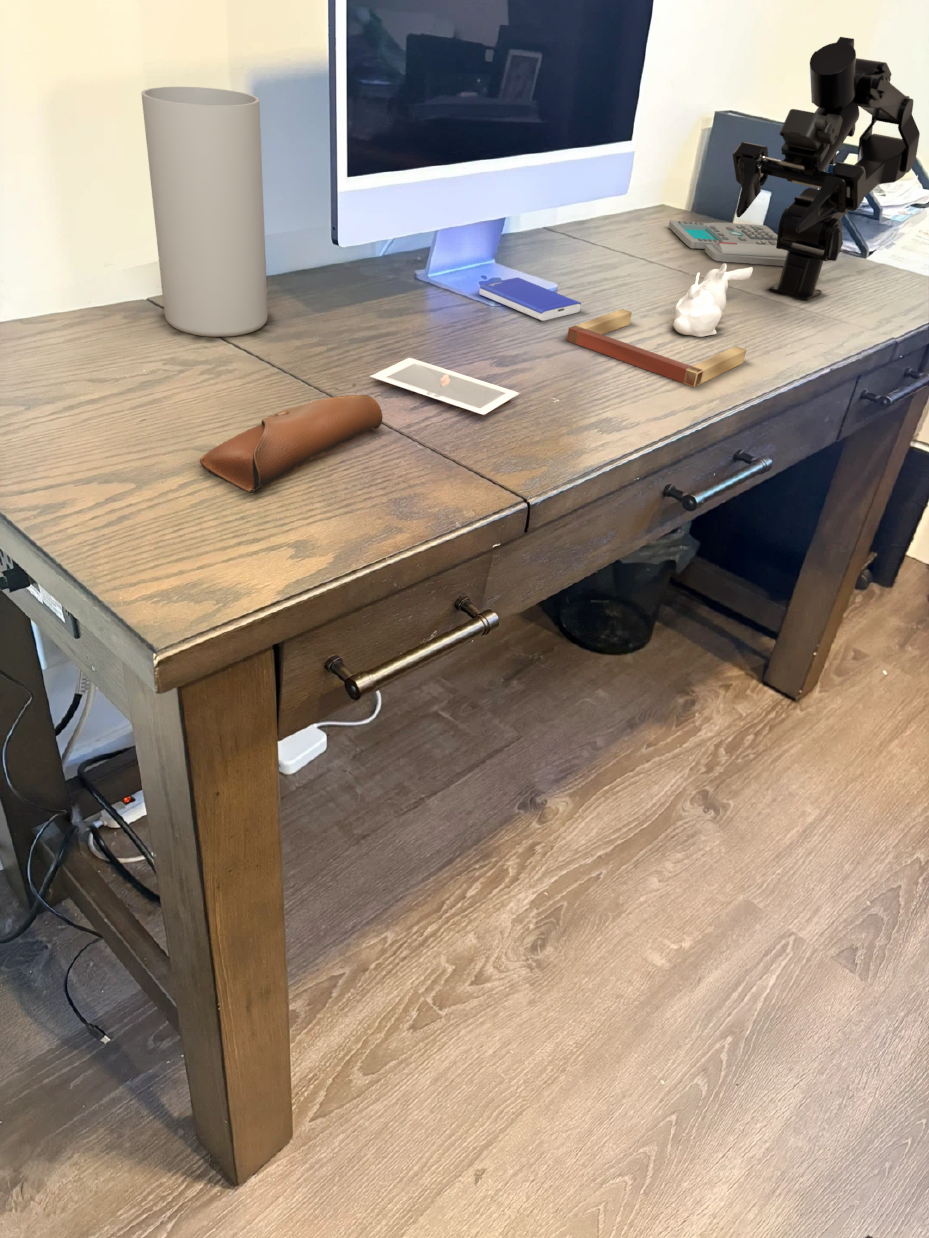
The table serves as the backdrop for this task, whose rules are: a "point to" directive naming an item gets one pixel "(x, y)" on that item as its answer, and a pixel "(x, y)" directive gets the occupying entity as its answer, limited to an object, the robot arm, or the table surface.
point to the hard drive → (530, 298)
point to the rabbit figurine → (706, 302)
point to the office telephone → (732, 241)
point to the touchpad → (446, 385)
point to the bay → (693, 376)
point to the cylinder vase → (208, 208)
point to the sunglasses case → (291, 439)
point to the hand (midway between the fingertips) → (766, 222)
